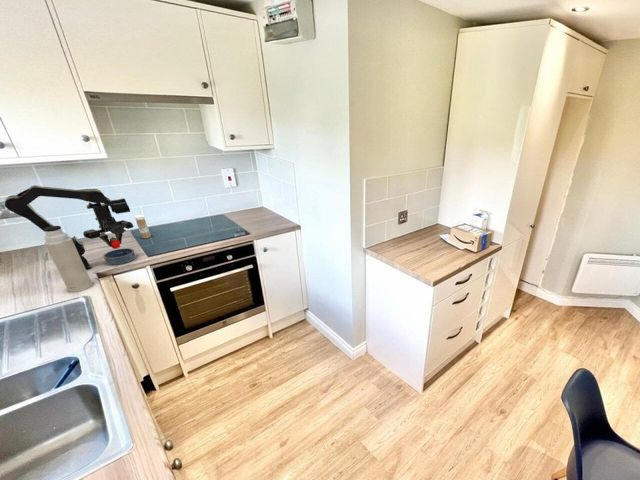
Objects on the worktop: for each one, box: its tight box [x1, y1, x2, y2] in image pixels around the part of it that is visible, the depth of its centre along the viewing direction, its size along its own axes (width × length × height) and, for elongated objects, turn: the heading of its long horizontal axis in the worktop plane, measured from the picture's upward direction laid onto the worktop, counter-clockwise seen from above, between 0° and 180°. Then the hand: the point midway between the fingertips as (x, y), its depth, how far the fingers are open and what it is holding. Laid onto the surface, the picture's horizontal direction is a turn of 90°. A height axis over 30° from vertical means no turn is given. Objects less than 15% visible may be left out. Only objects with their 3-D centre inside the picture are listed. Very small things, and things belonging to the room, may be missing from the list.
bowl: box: [102, 247, 137, 266], centre depth 165 cm, size 12×12×4 cm
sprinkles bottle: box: [134, 214, 152, 239], centre depth 190 cm, size 5×5×14 cm
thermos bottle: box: [43, 225, 93, 293], centre depth 135 cm, size 8×8×28 cm
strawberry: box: [109, 236, 121, 250], centre depth 161 cm, size 4×4×6 cm
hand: (115, 245), depth 162 cm, fingers closed on strawberry, 4 cm apart
